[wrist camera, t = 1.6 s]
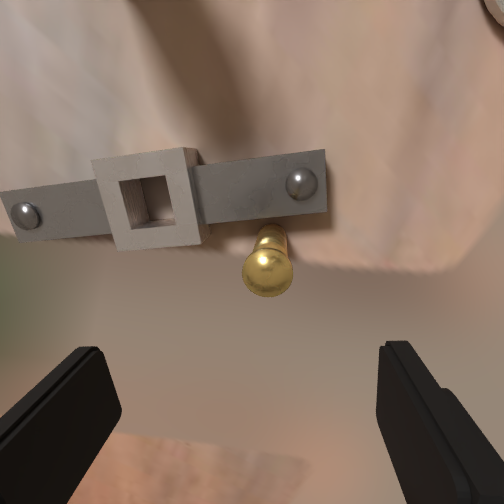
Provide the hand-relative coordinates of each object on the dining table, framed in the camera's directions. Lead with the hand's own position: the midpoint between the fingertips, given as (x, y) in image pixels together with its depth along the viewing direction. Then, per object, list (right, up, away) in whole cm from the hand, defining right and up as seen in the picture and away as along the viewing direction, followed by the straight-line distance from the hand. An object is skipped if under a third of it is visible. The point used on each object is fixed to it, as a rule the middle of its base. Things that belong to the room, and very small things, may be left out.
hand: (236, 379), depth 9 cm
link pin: (+3, +6, +17) cm, 19 cm away
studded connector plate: (-8, +10, +17) cm, 21 cm away
